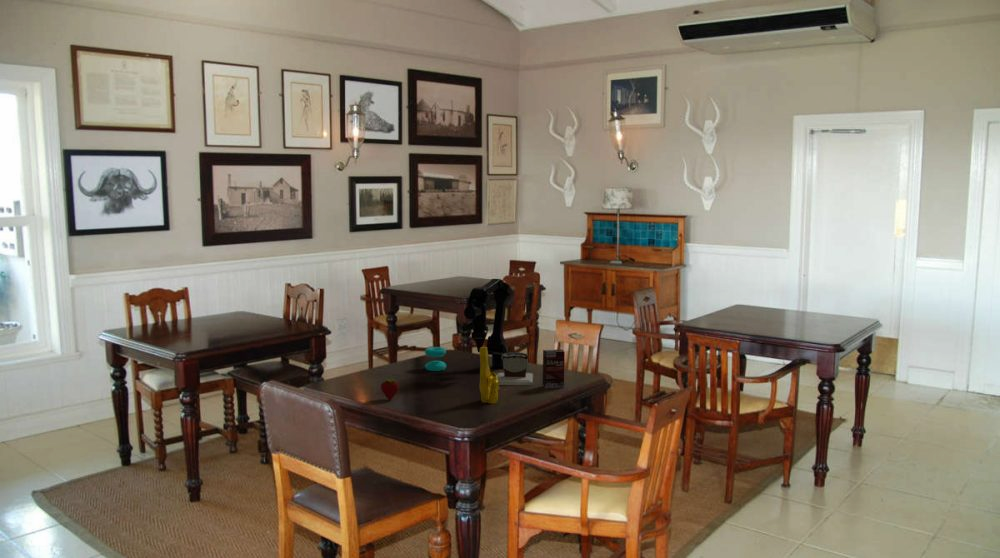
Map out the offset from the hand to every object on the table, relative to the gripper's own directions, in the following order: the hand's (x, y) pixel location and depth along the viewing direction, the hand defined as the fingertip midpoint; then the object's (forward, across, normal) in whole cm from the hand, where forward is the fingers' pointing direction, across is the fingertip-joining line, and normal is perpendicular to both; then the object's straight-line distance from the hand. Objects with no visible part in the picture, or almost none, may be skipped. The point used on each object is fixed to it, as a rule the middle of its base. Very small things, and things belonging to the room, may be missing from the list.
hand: (479, 350), depth 356 cm
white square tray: (+12, +8, +16) cm, 22 cm away
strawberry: (+12, +42, -33) cm, 55 cm away
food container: (+10, +7, +16) cm, 20 cm away
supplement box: (+12, +18, +33) cm, 40 cm away
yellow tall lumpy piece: (+12, +43, +7) cm, 45 cm away
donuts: (+12, -13, -22) cm, 28 cm away
